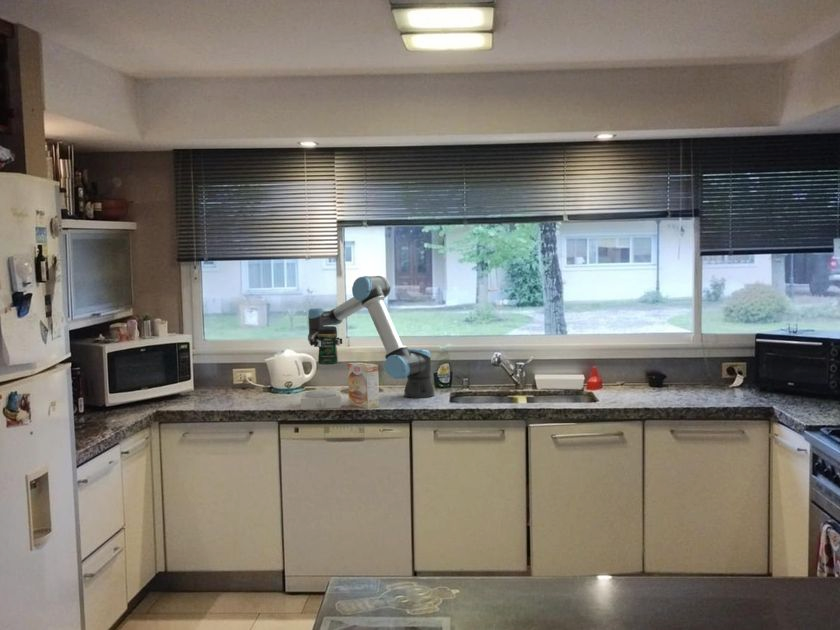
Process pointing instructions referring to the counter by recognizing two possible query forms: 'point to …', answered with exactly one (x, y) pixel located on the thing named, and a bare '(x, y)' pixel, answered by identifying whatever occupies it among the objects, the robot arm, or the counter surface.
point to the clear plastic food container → (320, 400)
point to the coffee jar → (327, 345)
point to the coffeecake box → (363, 385)
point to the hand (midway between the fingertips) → (329, 343)
